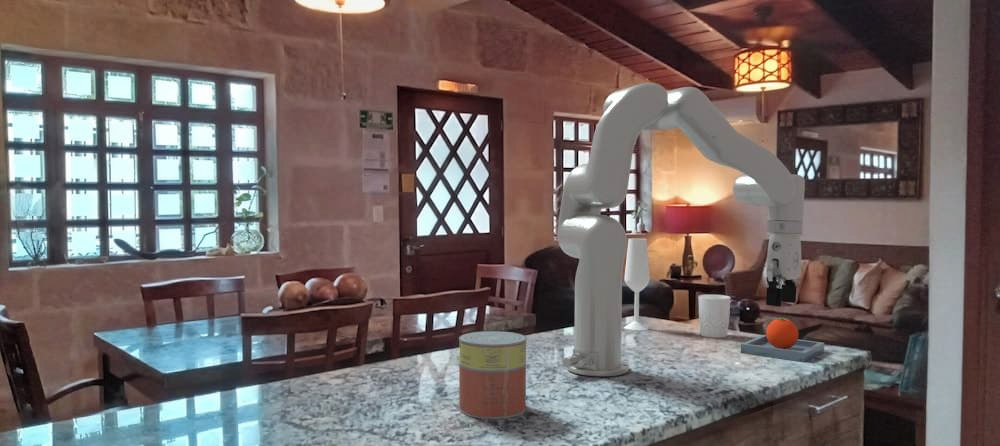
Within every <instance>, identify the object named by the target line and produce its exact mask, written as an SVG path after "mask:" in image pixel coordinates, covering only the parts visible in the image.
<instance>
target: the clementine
mask: <svg viewBox="0 0 1000 446" xmlns="http://www.w3.org/2000/svg"><path fill="white" fill-rule="evenodd" d="M765 335H766V337H767V339H768V341H769V343H770V344H771V345H772V346H774V347H776V348H780V349H788V348H791V347H792V346H794V345H795V344H796V342H797V340H798V339H799V330H798V327H797V326H796V325H795V323H793V322H792V321H791V320H789V319H788V318H784V317H780V318H776V319H774V320H772V321H770V323H768V325H767V327H766V331H765Z"/></svg>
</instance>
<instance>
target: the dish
mask: <svg viewBox="0 0 1000 446" xmlns="http://www.w3.org/2000/svg"><path fill="white" fill-rule="evenodd" d="M824 352H825V342H820V341H814V340H813V341H812V340H807V339H806V340H805V339H799V338H798V340H797V342H796V344H795V345H794V346H792V347H791V348H788V349H780V348H776V347H774V346H772V345H771V344H770V343H769V341H768V339H767V337H766V334H762V335H760V336H757V337H755V338H752V339H749V340H748V341H745V342H742V343H740V353H741V354H746V353H748V354H747V355H753V354H755V355H754V356H760V355H761V357H767V358H773V359H781V360H786V361H787V360H788V361H795V362H800V363H806V362H808V361H810V360H811V359H813V358H815V357H816V356H818V355H821V354H822V353H824Z"/></svg>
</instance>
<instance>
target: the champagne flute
mask: <svg viewBox="0 0 1000 446" xmlns="http://www.w3.org/2000/svg"><path fill="white" fill-rule="evenodd" d="M647 241H648V239H647V238H638V237H637V238H636V237H635V238H633V237H632V238H631V237H630V238H628V239H627V248H626V259H625V260H626V263H625V268H624V269H625V270H624V278H623V279H624V282H625V284H626V286H627V287H628V288H629V289H630V290H631V291H632V292H634V310H633V311H634V315H633V316H634V317H633V318H634V319H633V321H632V322H630V323H628V324H627V325H625V326H624V327H623V329H625V330H631V331H646V330H649V329H650V327H648V326H647V325H645V324H644V323H642V322H641V321H640V319H639V318H640V315H639V314H640V292H641V291H643V290H644V289H645V288H646V287H647V286H648V284H649V283H650V280H651V278H650V277H651V276H650V265H649V253H648V242H647Z"/></svg>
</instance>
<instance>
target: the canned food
mask: <svg viewBox="0 0 1000 446" xmlns="http://www.w3.org/2000/svg"><path fill="white" fill-rule="evenodd" d="M527 339H528V338H527V336H526V335H524V334H522V333H519V332H514V331H513V332H512V331H506V330H505V331H501V330H485V331H484V330H483V331H482V330H481V331H473V332H467V333H464V334H462V335H460V336H459V337H458V340H459V344H458V345H459V354H458V355H459V357H458V358H459V361H458V362H459V364H458V365H459V367H458V369H459V371H458V372H459V373H458V374H459V380H458V381H459V383H458V384H459V391H458V393H459V394H458V395H459V397H458V398H459V399H458V400H459V401H458V403H459V405H458V411H459V412H460V413H461V414H463V415H465V416H468V417H471V418H476V419H482V420H483V419H484V420H500V419H501V420H502V419H510V418H515V417H518V416H520V415H523V414H524V413H525V412H526V410H527V406H526V405H527V404H526V403H527V402H526V401H527V396H526V394H527V393H526V392H527V391H526V390H527V389H526V388H527V387H526V381H527V376H526V374H527V373H526V372H527V361H526V360H527Z"/></svg>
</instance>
